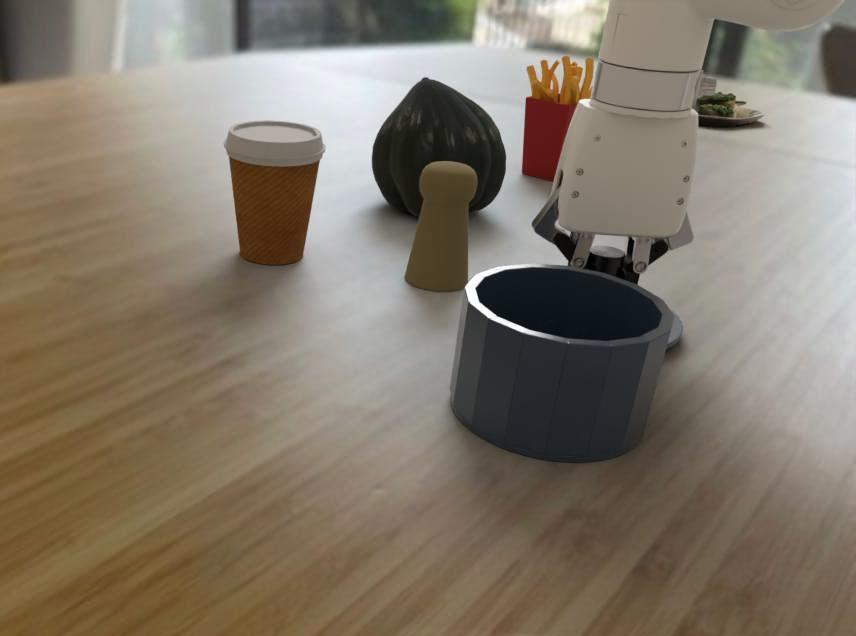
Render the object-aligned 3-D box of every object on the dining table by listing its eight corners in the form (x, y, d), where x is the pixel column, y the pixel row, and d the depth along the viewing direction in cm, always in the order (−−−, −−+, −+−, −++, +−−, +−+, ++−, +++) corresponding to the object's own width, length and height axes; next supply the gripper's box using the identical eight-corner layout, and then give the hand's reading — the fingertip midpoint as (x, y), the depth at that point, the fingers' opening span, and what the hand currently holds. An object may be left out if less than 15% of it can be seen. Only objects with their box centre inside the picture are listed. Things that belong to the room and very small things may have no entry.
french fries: (556, 184, 117) (578, 62, 110) (501, 170, 122) (519, 53, 115) (588, 173, 123) (611, 57, 116) (535, 160, 128) (554, 47, 120)
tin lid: (652, 295, 85) (669, 228, 82) (704, 367, 72) (726, 291, 69) (495, 285, 85) (506, 218, 82) (520, 355, 72) (534, 278, 69)
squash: (530, 187, 95) (509, 59, 98) (392, 193, 93) (375, 61, 96) (488, 238, 109) (471, 125, 112) (366, 244, 107) (352, 128, 110)
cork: (481, 284, 85) (499, 168, 80) (432, 296, 82) (447, 176, 77) (439, 263, 89) (453, 152, 84) (391, 273, 86) (402, 159, 81)
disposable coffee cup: (299, 278, 84) (305, 149, 78) (206, 260, 87) (205, 134, 81) (332, 247, 92) (340, 127, 86) (247, 231, 95) (249, 114, 89)
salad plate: (708, 102, 173) (714, 77, 171) (786, 123, 159) (794, 96, 157) (632, 107, 165) (637, 81, 163) (707, 130, 151) (715, 101, 149)
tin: (616, 372, 71) (641, 270, 66) (669, 469, 59) (703, 352, 55) (442, 360, 71) (456, 258, 67) (459, 455, 59) (477, 337, 55)
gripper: (732, 86, 72) (675, 298, 81) (528, 73, 73) (494, 286, 81) (770, 106, 66) (703, 334, 75) (545, 91, 66) (506, 321, 75)
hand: (594, 307), depth 78 cm, fingers closed on tin lid, 3 cm apart
